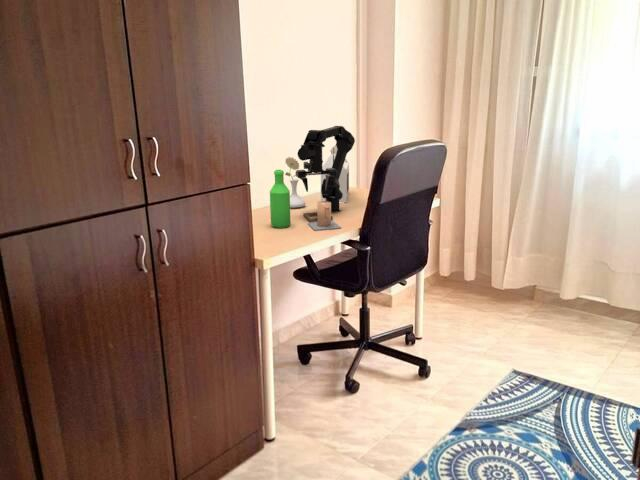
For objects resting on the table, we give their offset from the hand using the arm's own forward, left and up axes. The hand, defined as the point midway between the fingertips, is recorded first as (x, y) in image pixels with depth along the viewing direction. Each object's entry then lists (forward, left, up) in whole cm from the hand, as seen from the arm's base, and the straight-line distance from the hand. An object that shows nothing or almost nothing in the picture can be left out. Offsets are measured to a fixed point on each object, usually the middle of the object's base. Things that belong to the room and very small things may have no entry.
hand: (316, 191), depth 265 cm
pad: (+2, +19, -12) cm, 23 cm away
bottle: (+20, +12, -12) cm, 26 cm away
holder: (+1, +5, -12) cm, 13 cm away
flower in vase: (+6, -23, -12) cm, 27 cm away
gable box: (-20, -34, -12) cm, 41 cm away
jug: (+2, +19, -11) cm, 22 cm away
